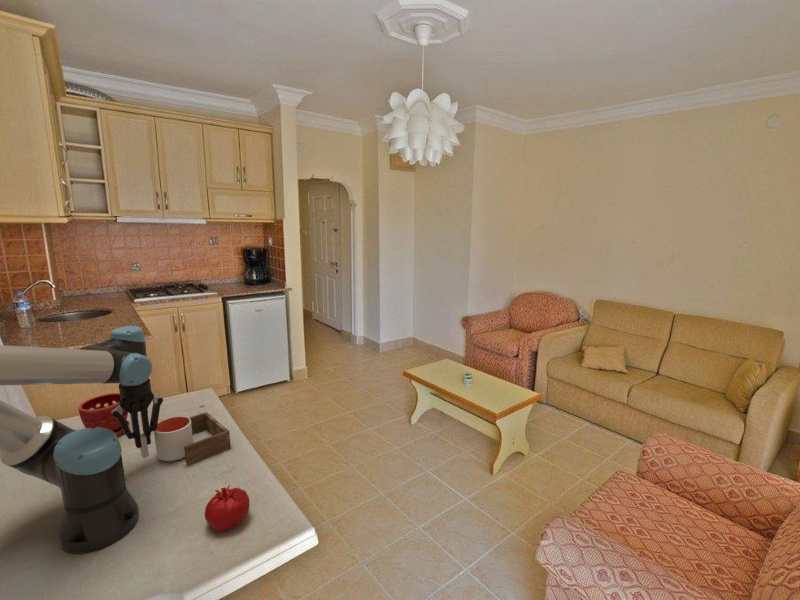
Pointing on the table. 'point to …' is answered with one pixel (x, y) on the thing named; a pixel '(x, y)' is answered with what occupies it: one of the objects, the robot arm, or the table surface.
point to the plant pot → (102, 413)
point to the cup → (173, 438)
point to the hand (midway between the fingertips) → (144, 455)
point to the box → (206, 439)
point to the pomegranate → (227, 508)
